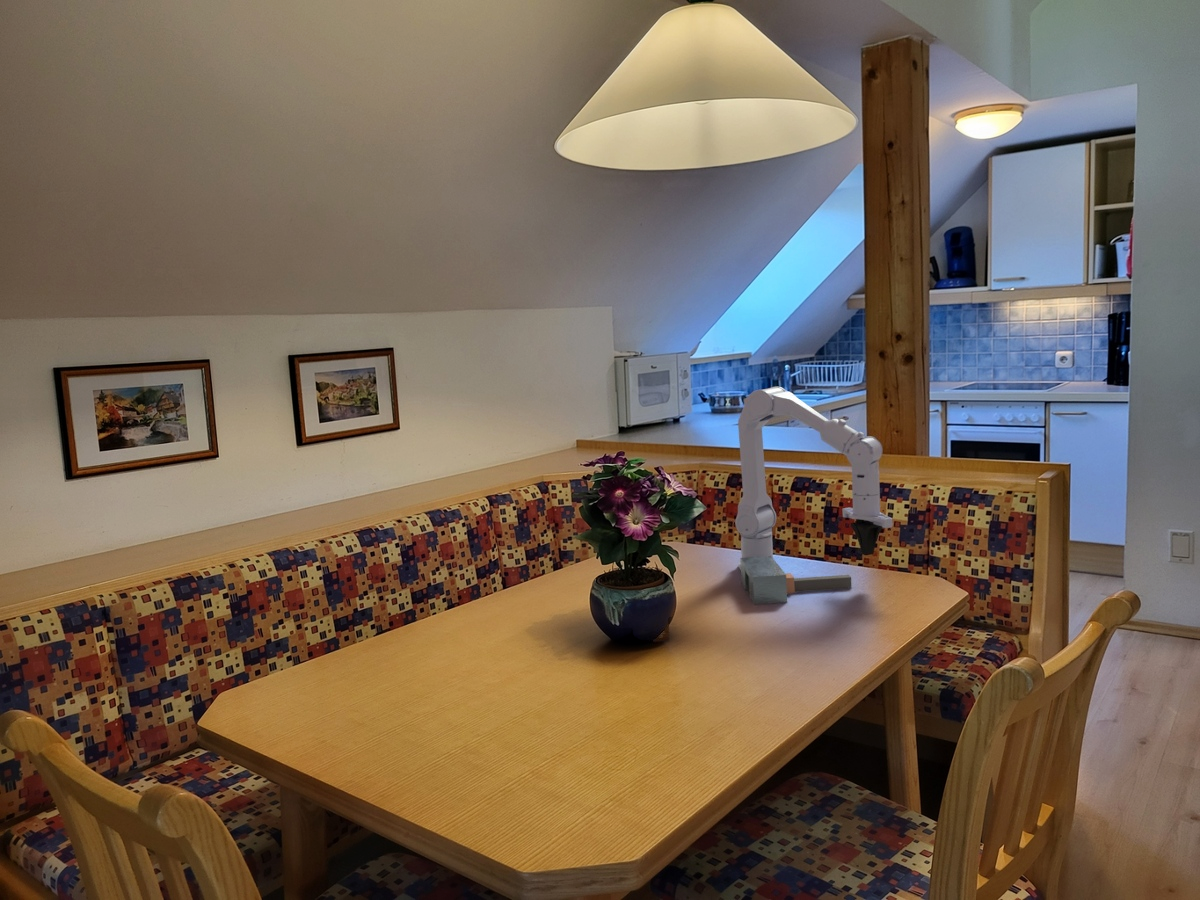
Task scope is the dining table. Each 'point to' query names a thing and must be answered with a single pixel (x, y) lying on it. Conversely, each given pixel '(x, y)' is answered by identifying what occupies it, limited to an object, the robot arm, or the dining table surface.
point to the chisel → (817, 583)
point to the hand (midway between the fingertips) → (867, 554)
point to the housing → (763, 580)
